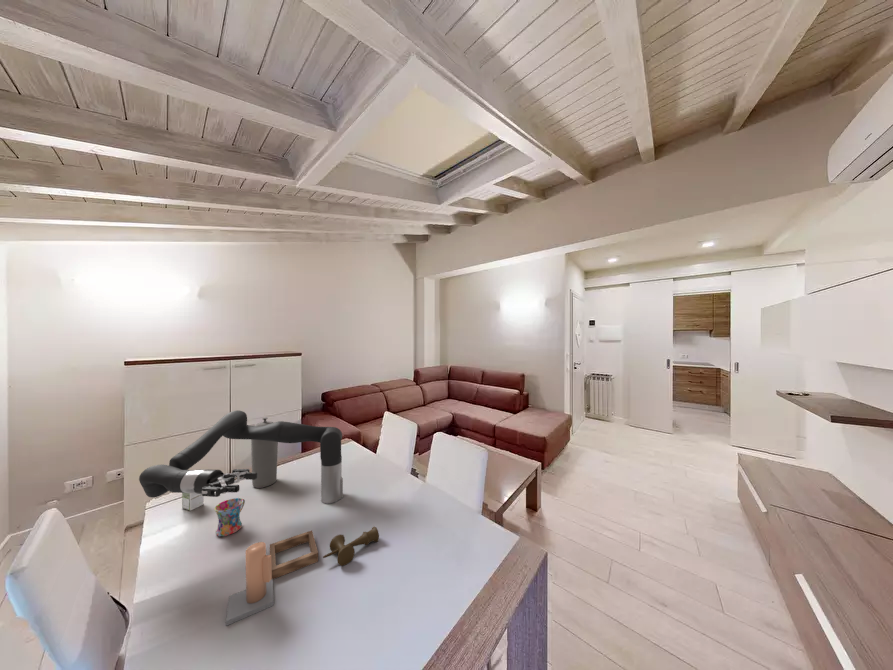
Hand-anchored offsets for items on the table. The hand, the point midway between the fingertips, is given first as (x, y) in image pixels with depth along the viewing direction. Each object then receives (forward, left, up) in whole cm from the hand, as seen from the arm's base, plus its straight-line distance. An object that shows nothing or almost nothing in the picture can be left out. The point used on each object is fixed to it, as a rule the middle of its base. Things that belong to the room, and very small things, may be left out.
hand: (248, 482), depth 98 cm
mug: (+6, -26, -28) cm, 39 cm away
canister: (-5, -62, -28) cm, 68 cm away
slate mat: (-1, +18, -28) cm, 33 cm away
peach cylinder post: (-3, +18, -27) cm, 32 cm away
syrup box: (+23, -55, -28) cm, 66 cm away
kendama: (-31, +14, -28) cm, 45 cm away
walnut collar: (-13, +5, -28) cm, 31 cm away
